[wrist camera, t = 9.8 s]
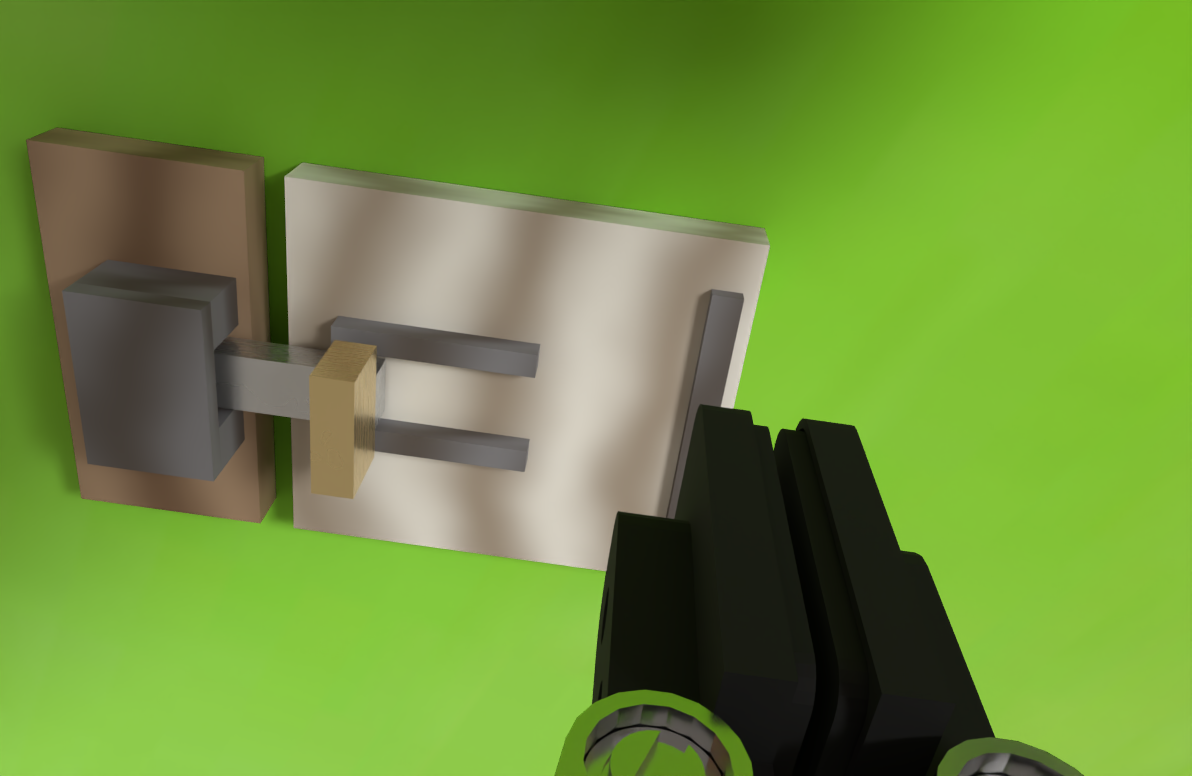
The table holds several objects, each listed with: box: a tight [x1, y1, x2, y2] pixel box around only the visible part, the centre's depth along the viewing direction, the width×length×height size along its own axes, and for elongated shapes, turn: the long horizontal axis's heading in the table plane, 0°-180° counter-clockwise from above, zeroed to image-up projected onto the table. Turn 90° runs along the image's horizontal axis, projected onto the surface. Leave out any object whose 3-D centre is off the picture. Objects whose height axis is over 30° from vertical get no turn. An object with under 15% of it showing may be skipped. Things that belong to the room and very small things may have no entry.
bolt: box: [214, 337, 386, 499], centre depth 37 cm, size 10×5×4 cm, turn 83°
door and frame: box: [26, 128, 770, 571], centre depth 38 cm, size 28×16×5 cm, turn 83°
